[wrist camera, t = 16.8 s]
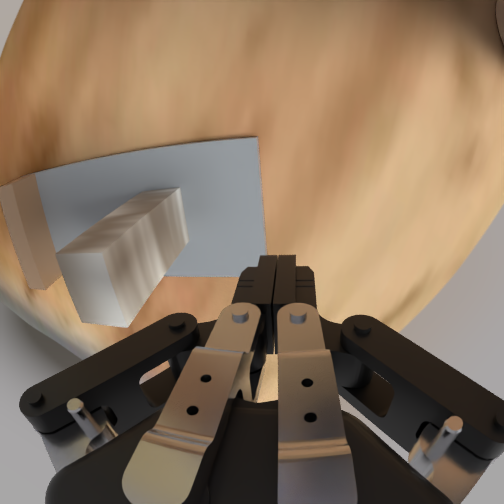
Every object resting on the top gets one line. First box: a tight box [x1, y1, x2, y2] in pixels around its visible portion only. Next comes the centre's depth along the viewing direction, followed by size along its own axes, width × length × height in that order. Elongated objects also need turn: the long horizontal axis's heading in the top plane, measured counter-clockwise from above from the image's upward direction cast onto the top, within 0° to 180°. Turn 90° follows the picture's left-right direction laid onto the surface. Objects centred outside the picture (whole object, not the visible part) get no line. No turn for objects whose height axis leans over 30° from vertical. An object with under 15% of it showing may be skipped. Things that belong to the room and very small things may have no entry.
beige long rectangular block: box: [55, 187, 189, 328], centre depth 18 cm, size 3×4×10 cm
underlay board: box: [0, 137, 267, 290], centre depth 22 cm, size 22×10×4 cm, turn 95°
